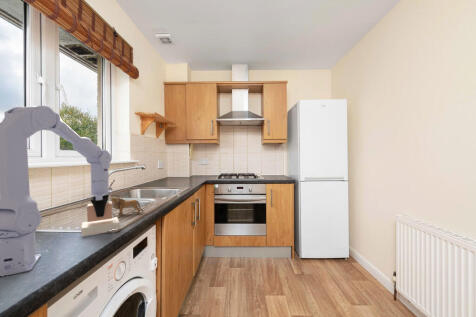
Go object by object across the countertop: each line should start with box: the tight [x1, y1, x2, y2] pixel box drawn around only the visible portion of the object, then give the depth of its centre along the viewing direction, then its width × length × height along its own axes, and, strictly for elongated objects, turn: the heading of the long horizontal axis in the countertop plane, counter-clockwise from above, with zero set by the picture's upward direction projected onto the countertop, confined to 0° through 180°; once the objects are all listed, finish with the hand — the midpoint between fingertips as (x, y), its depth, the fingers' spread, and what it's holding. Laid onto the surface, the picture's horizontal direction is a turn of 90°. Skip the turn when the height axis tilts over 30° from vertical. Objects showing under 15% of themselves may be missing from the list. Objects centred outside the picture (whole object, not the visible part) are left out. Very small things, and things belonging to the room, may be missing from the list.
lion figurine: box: [109, 196, 144, 216], centre depth 106 cm, size 15×5×9 cm, turn 120°
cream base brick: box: [80, 216, 120, 238], centre depth 83 cm, size 8×12×4 cm, turn 124°
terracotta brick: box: [86, 200, 113, 222], centre depth 83 cm, size 4×8×6 cm, turn 120°
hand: (100, 215), depth 83 cm, fingers closed on terracotta brick, 4 cm apart
